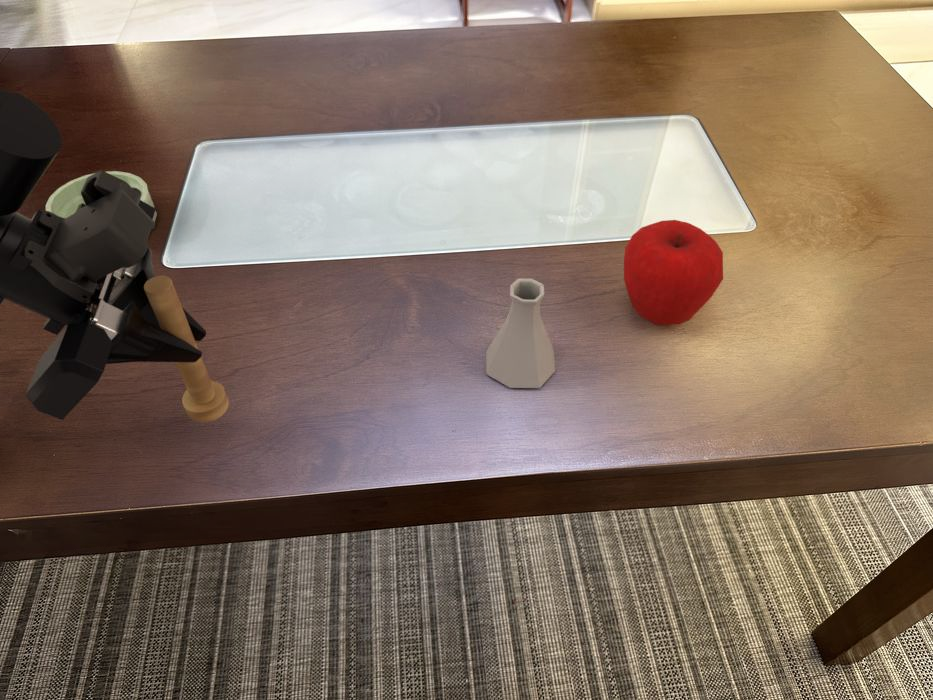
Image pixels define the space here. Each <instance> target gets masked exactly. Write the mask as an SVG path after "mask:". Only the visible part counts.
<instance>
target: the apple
mask: <svg viewBox="0 0 933 700" xmlns="http://www.w3.org/2000/svg"><path fill="white" fill-rule="evenodd" d="M723 280H724V252H723V250H722V249H721V247H720V245H719V244H718V242H717V241H716V240H715V239H714V238H713V237H712V236H711V235H709V234H708V233H707V232H706V231H704V230H703V229H701V228H700V227H698V226H695V225H694V224H692V223H689V222H686V221H681V220H678V219H667V220H659V221H656V222H654V223H651V224H648V225H645V226H642V227H640V228H639V229H638V230H637V231H636V232H634V233H632V235H631V237H630V238H629V240H628V242H627V244H626V246H625V247H624V255H623V281H624V285H625V288H626V292H627V295H628V298H629V302H630V305H631V308H632V309H633V310H634V312H636V314H637V315H638V316H639V317H641V318H642V319H644V320H646V321H648V322H650V323H651V324H655V325H659V326H674V325H675V326H677V325H681V324H683V323H686V322H688V321H690V320H691V319H692V318H693V317H694V316H695V315H696V314H697V313H698V312H699V311H700V310H701V309H702V308H703V306H705V305H706V303H708V302H709V300H710V299H711V298H713V296H714V294H715V292H717V290H718V288H719V287H720V285H721V283H722V282H723Z"/></svg>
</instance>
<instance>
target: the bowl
mask: <svg viewBox="0 0 933 700" xmlns="http://www.w3.org/2000/svg"><path fill="white" fill-rule="evenodd" d="M106 172H107V173H109V174H111V175H113V176H115V177H117V178H119V179H121V180H123V181H125V182H127V183H128V184H129V185H130V186H131V187H134V188H137V189H139V190H140V191H141V193H142V196H141V199H140V200H141V201H143V202H145V203H147V204H148V205H150V206H152V207H154V208H155V209H156V211H155V214H154V217H153V221H154V222H155V223H156V220H157V216H158V212H157V208H156V205H155V203H154V199H153V197H152V194H151V192H150V190H149V186H148V184H147V182H145V181H144V180H143V179H142V178H141V177H140V176H137V175H136V174H133V173H130V172H124V171H117V170H112V171H106ZM95 173H96V172H93V173H90V174H85V175H82V176H80V177H77V178H75V179H71V180H70V181H68V182H66V183H64V184H63V185H61V186H60V187H58V188H57V189H56V190H55V191H54V192H53V193H52V194H51V195H50V196H49V197H48V200H47V201H46V204H45V211H49V212H51V213H53V214H55V215H57V216H59V217H62V218H67V217H69V216H71V215H73V214H74V213H75V212H76V210H77V208H78V206H79V205H80V204H81V203H84V204H85V202H84V200H83V198H82V195H81V190H82V188H83V186H84V184H85V181H86V179H87V178H88V177H89V176H91V175H93V174H95Z"/></svg>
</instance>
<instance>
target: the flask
mask: <svg viewBox="0 0 933 700" xmlns="http://www.w3.org/2000/svg"><path fill="white" fill-rule="evenodd" d="M509 295H510V297H509V298H510V300H511V304H510V307H509V311H508V314H507V316H506V318H505V320H504V321H503V323H502V325H501V327H500V328H499V330H498V332H497V334H496V336H495V337H494V339H493V340H492V342H491V343H490V345H489V346H488V348H487V349H486V352H485V374H486V375H487V376H488V377H491V378H492V379H494V380H496V381H498V382H499V383H501V384H503V385H504V386H506V387H508V388H510V389H540V388H542V386H543V385H544V384H545V383H546V382H547V381H548V380H549V379H550V378H551V376H553V374H554V373H555V372H556V359H555V350H554V347H553V344H552V342H551V339H550V337H549V334H548V332H547V330H546V326H545V324H544V321H543V317H542V314H541V301H542V299H544V297H545V286H544V283H541V282H540V281H537V280H535V279H534V278H517V279H516V280H515V281H514V282H513V283H512V284H510V286H509Z"/></svg>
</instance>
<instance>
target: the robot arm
mask: <svg viewBox="0 0 933 700" xmlns="http://www.w3.org/2000/svg"><path fill="white" fill-rule="evenodd" d="M62 146H63V137H62V134H61V130H60V129H59V127H58V125H57V123H56V122H55V121H54V120H53V118H52V117H51V116H50V115H49V114H48V113H47V112H46V110H45V109H43V108H42V107H41V106H40V105H38V104H37V103H36V102H34V101H32V100H31V99H30V98H28V97H27V96H25V95H23V94H22V93H19V92H17V91H12V92H11V91H9V90H7V89H3V88H0V305H1V304H2V303H3V301H4V300H6V301H7V302H10V303H13V304H16V305H17V306H20V307H22V308H24V309H26V310H29V311H31V312H33V313H35V314H37V315H40V316H42V317H44V318H46V320H45V324H44V325H43V327H42V330H44V331H47V332H48V333H51V334H54V335H56V336H57V337H56V338H55V339H54V341H53V342H52V343H51V344H50V345H49V347H48V348H47V349H46V350H45V351H44V352H43V354H42V355H41V356H40V357H39V360H38V362H37V364H36V367H35V370H34V372H33V375H32V377H31V380H30V382H29V384H28V387H27V389H26V391H25V394H24V396H25V397H26V399H27V400H28V402H29V403H30V405H31V406H32V407H33V408H34V409H35V410H36V411H38V412H40V413H42V414H45V415H48V416H51V417H53V418H55V419H58V420H61V421H63V420H64V419H65V418H66V417H67V416H68V415H69V414H70V412H71V411H72V410H74V408H75V407H76V406H77V405H78V404H79V403H80V402H81V401H82V400H83V399H84V398H85V396H86V395H88V393H89V392H90V391H91V390H92V389H93V388H94V387H95V386H96V384H98V382H99V380H100V379H101V377H102V375H103V374H104V372H105V368H106V366H107V365H111V364H112V365H113V364H125V363H176V362H196V361H198V360H199V359H200V358H201V357H203V352H202V351H201V350H200V349H199V348H198V349H199V350H198V349H197V348H195V347H194V346H192V345H191V344H189V343H187V342H186V341H184V340H182V339H180V338H178V337H176V336H174V335H172V334H170V333H168V332H166V331H164V330H163V329H161V327H160V325H159V323H158V320H157V318H156V316H155V314H154V311H153V309H152V307H151V304H150V302H149V300H148V297H147V295H146V293H145V290H144V284H145V283H146V281H148V280H149V279H151V278H153V277H155V276H156V272H155V269H154V263H153V259H152V258H153V252H152V250H151V249H150V248H149V246H148V240H149V237H150V234H151V231H153V230H154V229H155V226H156V221H155V222H154V221H153V217H154V214H155V211H156V212H157V208H156V207H155V208H156V209H155V208H154V207H152V206H150V205H148V204H147V203H145V202H143V201H141V200H140V199H141V196H142V193H141V191H140V190H139V189H137V188H134V187H131V186H130V185H129V184H128V183H127V182H125V181H123V180H121V179H119V178H117V177H115V176H113V175H111V174H109V173H107V172H108V171H105V170H101V169H100V170H99V171H97V172H94V173H95V174H94V173H92V174H93V175H91V176H89V177H88V178H87V179H86V181H85V184H84V186H83V188H82V190H81V195H82V198H83V200H84V202H85V204H84V203H81V204H80V205H79V206H78V208H77V210H76V212H75V213H74V214H73V215H71V216H69V217H67V218H62V217H59V216H57V215H55V214H53V213H51V212H49V211H46V210H44V211H43V210H42V209H39V208H38V209H37V210H36V212H35V213H34V214H33V216H32V218H30V217H27V216H25V215H23V214H21V213H19V212H18V211H19V210H20V209H21V208H22V207H23V206H24V205H25V202H26V201H27V200H28V198H29V197H30V195H31V193H32V192H33V191H34V189H35V188H36V187H37V185H38V183H39V182H40V180H41V179H42V178H43V176H44V174H45V173H46V172H47V170H48V169H49V167H50V165H51V164H52V163H53V161H54V160H55V158H56V157H57V156H58V154H59V152H61V149H62ZM182 308H183V311H184V314H185V316H186V319H187V321H188V324H189V326H190V329H191V331H192V334H193V337H194V339H195V342H202V340H203V339H204V338H205V337H206V336H207V331H206V329H205V328H204V327H203V326H202V325H201V324H200V323H199V322H198V321H197V320H196V319H195V318H194V317H193V316H192V315H191V314H190V313H189V312H188V311H187V310H186V309H185V308H184V307H183V306H182Z"/></svg>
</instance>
